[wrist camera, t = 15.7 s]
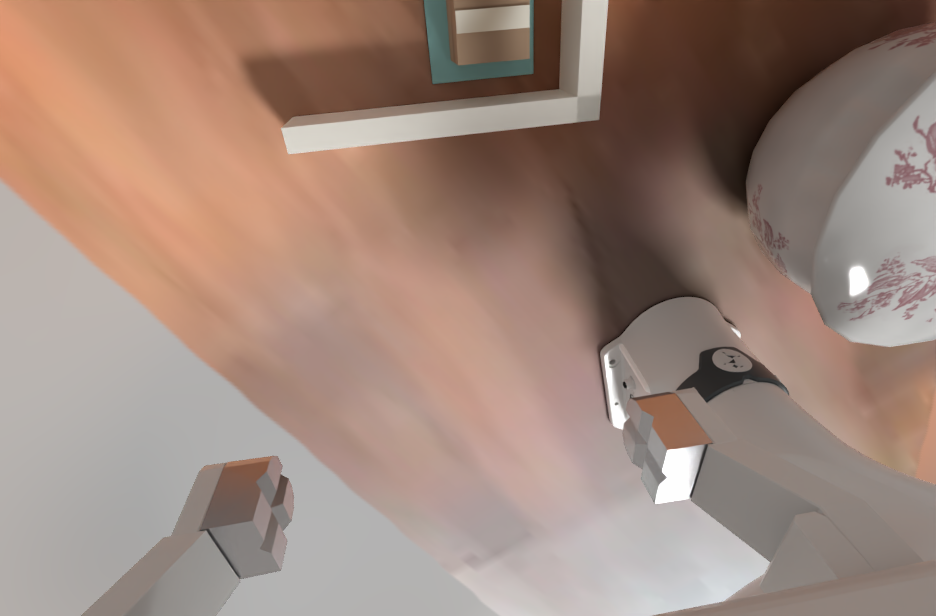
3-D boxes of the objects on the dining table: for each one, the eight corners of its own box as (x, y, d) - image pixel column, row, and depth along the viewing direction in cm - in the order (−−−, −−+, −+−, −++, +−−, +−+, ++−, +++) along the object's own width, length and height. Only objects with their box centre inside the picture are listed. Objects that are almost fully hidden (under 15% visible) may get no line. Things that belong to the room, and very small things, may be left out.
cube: (512, -24, 36) (530, -31, 32) (513, 54, 39) (530, 58, 35) (444, -19, 36) (452, -25, 31) (450, 60, 39) (458, 65, 34)
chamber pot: (668, 96, 43) (851, 147, 26) (966, -72, 39) (1417, -144, 22) (719, 306, 58) (857, 427, 41) (940, 199, 54) (1197, 283, 37)
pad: (532, 73, 41) (533, 73, 40) (432, 83, 40) (432, 84, 40) (532, -55, 36) (533, -55, 36) (418, -46, 35) (418, -46, 35)
